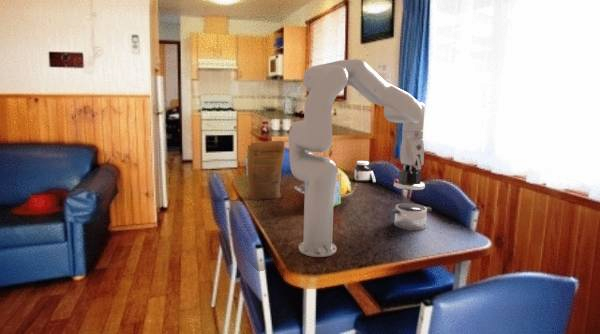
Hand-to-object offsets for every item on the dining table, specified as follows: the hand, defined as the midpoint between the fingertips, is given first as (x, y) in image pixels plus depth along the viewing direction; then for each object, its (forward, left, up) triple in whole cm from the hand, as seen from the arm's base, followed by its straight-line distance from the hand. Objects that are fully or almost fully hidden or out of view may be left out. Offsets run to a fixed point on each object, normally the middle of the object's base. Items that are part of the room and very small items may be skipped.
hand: (409, 182), depth 157 cm
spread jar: (+77, -18, -18) cm, 81 cm away
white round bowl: (0, 0, -2) cm, 2 cm away
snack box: (+31, +24, -18) cm, 43 cm away
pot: (+1, -2, -18) cm, 18 cm away
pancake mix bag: (+52, +46, -18) cm, 72 cm away
